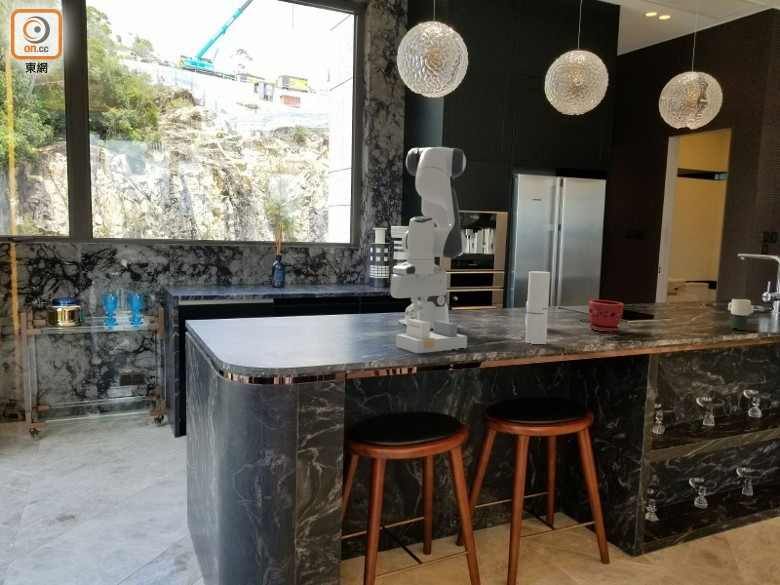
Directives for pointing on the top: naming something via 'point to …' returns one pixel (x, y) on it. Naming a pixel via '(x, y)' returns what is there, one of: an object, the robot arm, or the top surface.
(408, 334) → the panel
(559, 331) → the top surface
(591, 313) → the plant pot
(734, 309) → the character mug
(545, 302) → the white tall box
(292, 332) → the top surface
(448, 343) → the rack
